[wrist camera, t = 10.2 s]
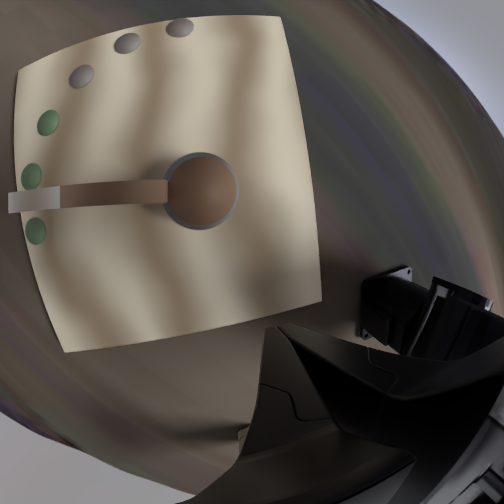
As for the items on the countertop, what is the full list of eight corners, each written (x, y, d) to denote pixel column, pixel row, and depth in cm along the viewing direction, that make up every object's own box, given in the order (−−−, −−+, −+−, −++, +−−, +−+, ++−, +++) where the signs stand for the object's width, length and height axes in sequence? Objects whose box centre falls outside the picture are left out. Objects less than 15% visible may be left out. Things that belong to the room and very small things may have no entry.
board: (275, 23, 17) (280, 16, 15) (315, 295, 23) (322, 301, 22) (24, 74, 12) (18, 69, 11) (69, 345, 18) (64, 353, 17)
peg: (232, 161, 17) (244, 153, 13) (230, 221, 18) (242, 229, 14) (37, 171, 14) (8, 169, 10) (38, 227, 15) (10, 237, 11)
